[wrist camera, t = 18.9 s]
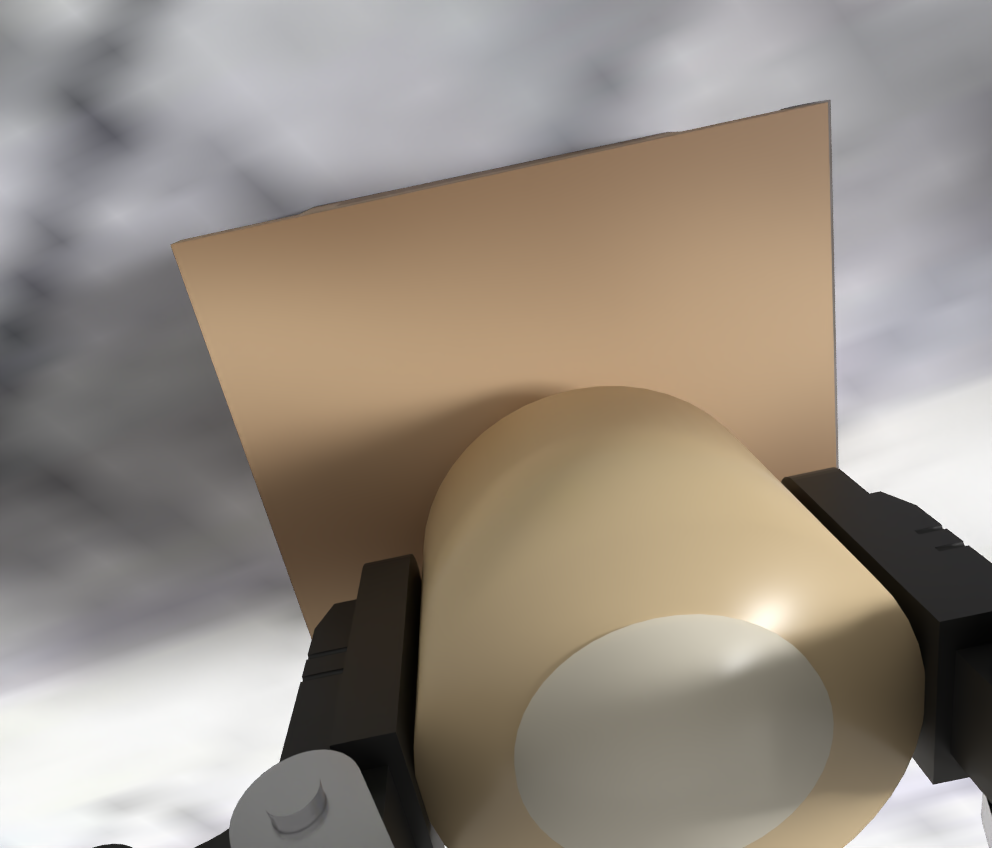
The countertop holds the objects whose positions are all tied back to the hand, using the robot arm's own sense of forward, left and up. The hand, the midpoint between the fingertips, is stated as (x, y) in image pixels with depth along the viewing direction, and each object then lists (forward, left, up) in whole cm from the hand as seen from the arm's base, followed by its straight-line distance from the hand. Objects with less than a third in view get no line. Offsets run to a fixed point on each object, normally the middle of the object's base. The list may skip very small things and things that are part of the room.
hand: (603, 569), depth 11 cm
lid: (0, 0, -2) cm, 2 cm away
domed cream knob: (0, 0, -1) cm, 1 cm away
